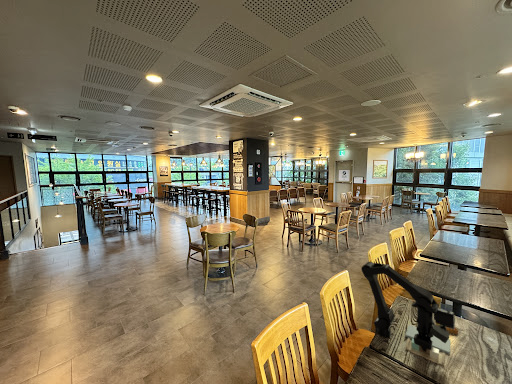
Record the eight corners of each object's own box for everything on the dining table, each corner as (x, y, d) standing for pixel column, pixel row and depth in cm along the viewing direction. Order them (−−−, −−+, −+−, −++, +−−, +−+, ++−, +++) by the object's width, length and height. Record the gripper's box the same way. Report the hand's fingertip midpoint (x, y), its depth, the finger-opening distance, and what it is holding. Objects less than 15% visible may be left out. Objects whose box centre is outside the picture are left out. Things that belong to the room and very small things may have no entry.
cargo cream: (430, 356, 96) (429, 350, 96) (430, 352, 98) (430, 346, 98) (438, 359, 94) (438, 353, 94) (439, 355, 96) (439, 349, 96)
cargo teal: (411, 347, 101) (411, 341, 101) (412, 344, 104) (412, 338, 103) (419, 351, 99) (419, 345, 99) (420, 347, 101) (420, 341, 101)
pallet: (405, 352, 101) (405, 338, 101) (408, 343, 106) (408, 330, 106) (444, 369, 92) (444, 354, 91) (445, 359, 97) (445, 345, 96)
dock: (405, 339, 109) (405, 334, 109) (408, 328, 116) (408, 324, 116) (449, 357, 97) (449, 352, 97) (450, 344, 104) (450, 339, 104)
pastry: (458, 330, 113) (458, 323, 113) (458, 337, 108) (458, 331, 108) (435, 323, 120) (435, 316, 119) (434, 329, 115) (434, 323, 115)
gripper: (446, 338, 86) (446, 373, 87) (448, 315, 99) (448, 346, 100) (413, 325, 93) (413, 358, 94) (419, 306, 107) (419, 335, 108)
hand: (424, 349), depth 99 cm, fingers closed on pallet, 2 cm apart
